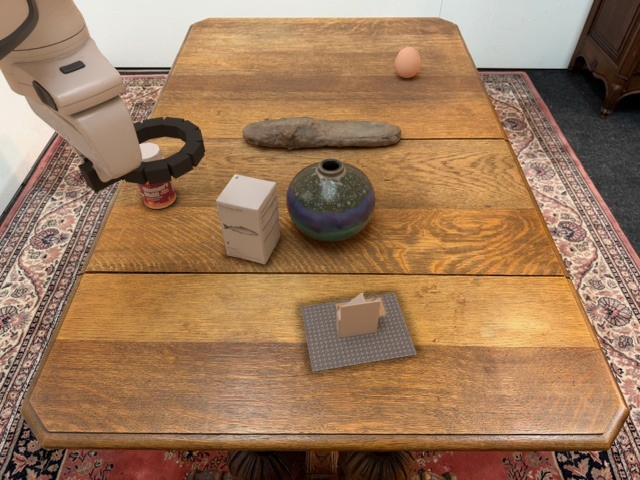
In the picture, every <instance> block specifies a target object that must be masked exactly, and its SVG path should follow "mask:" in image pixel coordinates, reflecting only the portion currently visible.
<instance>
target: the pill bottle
mask: <svg viewBox="0 0 640 480" xmlns="http://www.w3.org/2000/svg"><path fill="white" fill-rule="evenodd" d="M139 145H140V149H141V153H142V161H143V162H149V161H155V160H161V159H165V158H164V157H163V154H162V151H161V147H160V146H159V145H158V144H157V143H154V142H143V143H141V144H139ZM172 178H173V177H171V179H172ZM137 186H138V190H139V192H140V194H141V198H142V201H143V203H144V205H145V206H146V207H148V208H150V209H154V210H159V209H165V208H167V207H170V206H171V205H172V204H173V203H174V202H175V201H176V198H177V192H176V188H175V185H174V182H173V179H172V181H167V182H162V183H156V184H151V185H149V183H148V182H147V183H146V184H145V185H143V184H137Z"/></svg>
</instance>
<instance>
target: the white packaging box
mask: <svg viewBox="0 0 640 480" xmlns="http://www.w3.org/2000/svg"><path fill="white" fill-rule="evenodd" d="M215 204H216V209H217V214H218V218H219V223H220V228H221V233H222V237H223V241H224V247H225V251H226V256H228V257H233V258H238V259H242V260H246V261H250V262H253V263H257V264H260V265H267V263H268V261H269V259H270V257H271V255H272V253H273V252H274V250H275V248H276V246H277V244H278V242H279V240H280V239H281V230H280V229H281V228H280V215H279V214H280V213H279V204H278V191H277V182H276V181H271V180H266V179H261V178H256V177H252V176H247V175H243V174H237V173H234V174H233V176H232V178H231V179H230V180H229V181H228V183H227V184H226V186H225V187H224V188H223V190H222V191H221V192H220V194H219V195H218V196H217V198H216V200H215Z"/></svg>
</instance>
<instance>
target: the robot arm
mask: <svg viewBox="0 0 640 480" xmlns="http://www.w3.org/2000/svg"><path fill="white" fill-rule="evenodd" d="M0 72H1V74H2V76H3V77H4V79H5V81H6V83H7V84H8V86H9V88H10V90H11V91H12V92H13V93H15V94H17V95H19V96H23V97H24V98H25V101H26V102H27V105H28V106H29V108H30V109H31V111H32V112H33V113H34V115H36V116H37V117H38V118H39V119H40V120H41V121H43V123H45V124H46V125H48V126H49V128H51V129H52V130H53V131H54V132H56V133H57V134H58V135H59V136H60V137H62V139H63V140H65V141H66V142H67V143H68V144H69V145H70V147H71V148H72V150H73V151H74V152H75V154H76V155H77V157H78V159H79V162H80V164H82V163H84V162H87V161H89V160H90V161H91V162H93V166H92V168H93V170H94V172H95V174H96V176H97V177H98V178H99V179H100V180H101V181H103V182H107V181H109V180H111V179H116V178H119V177H121V176H123V175H125V174H127V173H129V172H131V171H133V170H134V169H136V168H138V167H139V166H140V165H141V161H142V153H141V149H140V145H139V142H138V138H137V135H136V131H135V128H134V125H133V124H134V122H133V119H132V116H131V114H130V111H129V108H128V107H127V104H126V103H125V101H124V100H123V98H122V96H120V95H122V94H123V93H125V92H126V85H125V82H124V80H123V78H122V77H123V76H121V74H120V72H119V71H118V70H117V69H116V67H114V66H113V64H112V63H111V62H110V61H109V60H108V59H107V58H106V56H105V55H104V54H103V53H102V52H101V51H100V48H99V47H98V45H97V43H96V41H95V39H93V38H92V37H91V33H90V31H89V28H88V26H87V23H86V20H85V18H84V16H83V14H82V12H81V10H80V9H79V8H78V7H77V5H76V3H75V1H74V0H0Z"/></svg>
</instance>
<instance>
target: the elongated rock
mask: <svg viewBox="0 0 640 480" xmlns="http://www.w3.org/2000/svg"><path fill="white" fill-rule="evenodd" d="M241 135H242V136H241V137H242V138H243V139H244V140H245V141H247V142H248V143H249V144H251V145H252V144H253V145H255V146H262V147H267V148H268V147H270V148H285V149H286V150H289V151H290V150H293V149H297V150H298V149H300V148H319V147H325V146H328V147H337V148H342V147H364V148H365V147H371V148H372V147H373V148H377V147H381V146H384V147H386V146H389V145H394V144H397V143H398V142H399V141H400V140H401V138H402V137H401V136H402V129H401V128H400V126H398V125H397V124H392V123H389V122H386V121H383V120H358V119H357V120H355V119H354V120H351V119H350V120H348V119H345V120H336V119H335V120H331V119H330V120H328V119H324V118H323V119H320V118H314V117H309V116H300V117H297V116H296V117H281V118H278V119H266V120H259V121H256V122H255V121H254V122H250V123H248V124H247V123H246V125H244V126H243V128H242V134H241Z"/></svg>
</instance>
